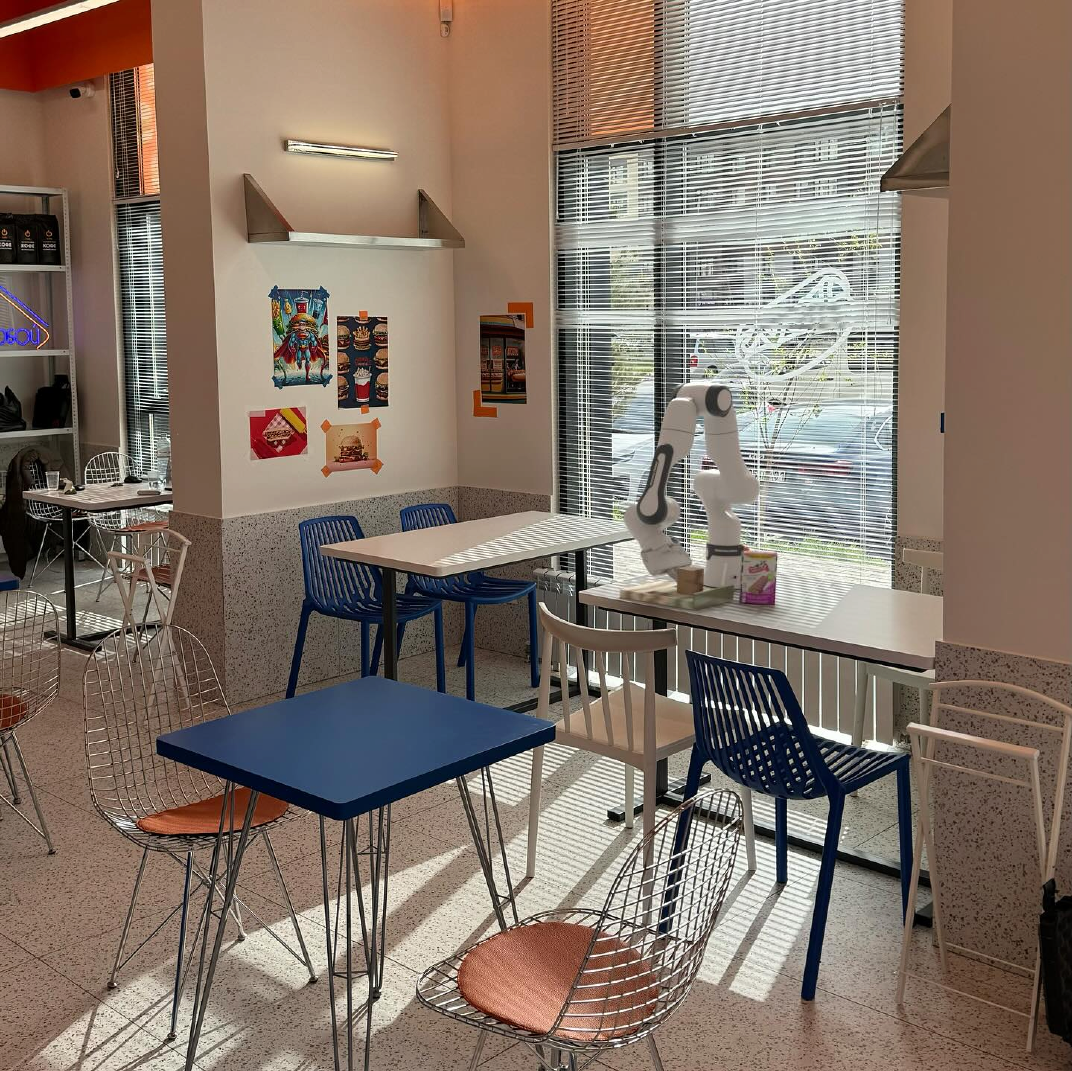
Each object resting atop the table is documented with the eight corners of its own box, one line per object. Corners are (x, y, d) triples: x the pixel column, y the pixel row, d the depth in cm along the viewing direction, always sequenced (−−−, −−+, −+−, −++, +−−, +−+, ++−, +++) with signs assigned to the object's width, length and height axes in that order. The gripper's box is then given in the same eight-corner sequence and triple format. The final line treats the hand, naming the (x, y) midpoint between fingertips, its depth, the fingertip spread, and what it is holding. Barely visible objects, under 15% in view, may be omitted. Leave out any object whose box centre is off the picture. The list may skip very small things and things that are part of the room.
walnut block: (687, 590, 401) (688, 566, 400) (703, 593, 397) (704, 568, 396) (676, 593, 396) (677, 568, 395) (692, 595, 392) (693, 570, 391)
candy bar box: (739, 604, 394) (741, 552, 391) (738, 601, 399) (740, 550, 396) (775, 605, 393) (778, 553, 390) (774, 602, 397) (776, 551, 395)
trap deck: (619, 597, 402) (620, 581, 401) (659, 588, 418) (659, 573, 417) (695, 610, 383) (696, 594, 382) (733, 600, 399) (734, 584, 399)
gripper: (644, 544, 394) (668, 579, 389) (680, 538, 409) (704, 571, 404) (632, 557, 398) (656, 591, 393) (669, 550, 413) (692, 583, 408)
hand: (681, 581), depth 399 cm, fingers closed, pressing on walnut block
